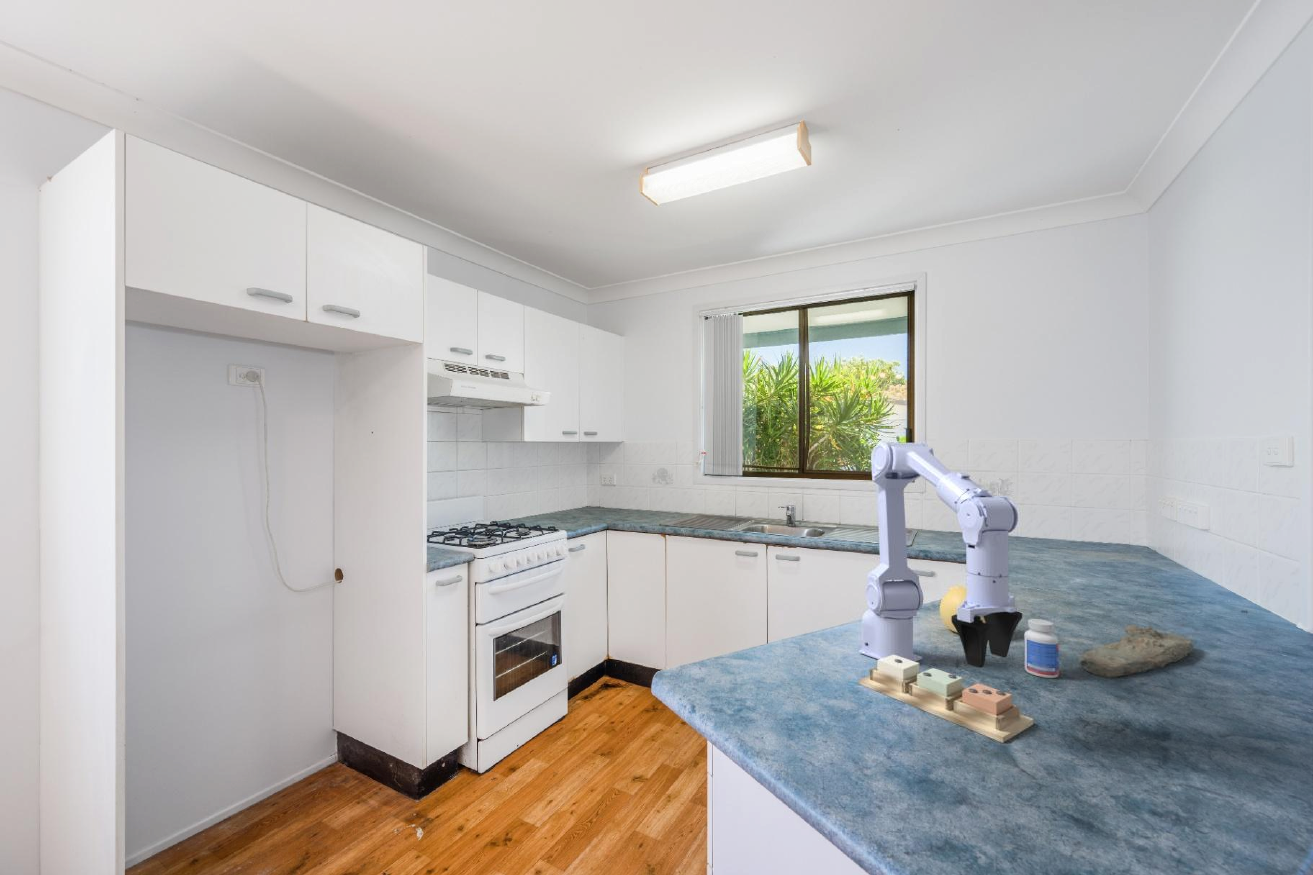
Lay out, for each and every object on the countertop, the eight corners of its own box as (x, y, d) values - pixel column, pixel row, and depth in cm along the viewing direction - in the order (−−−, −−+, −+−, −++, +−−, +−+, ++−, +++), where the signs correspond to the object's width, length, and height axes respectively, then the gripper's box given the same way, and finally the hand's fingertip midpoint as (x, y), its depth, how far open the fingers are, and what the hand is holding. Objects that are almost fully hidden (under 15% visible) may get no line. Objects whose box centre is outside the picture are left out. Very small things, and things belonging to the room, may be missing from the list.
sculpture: (1007, 635, 128) (1007, 588, 128) (978, 643, 121) (978, 594, 122) (958, 621, 137) (958, 578, 138) (929, 629, 131) (929, 583, 132)
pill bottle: (1064, 680, 102) (1064, 627, 103) (1032, 677, 103) (1032, 625, 104) (1050, 668, 108) (1049, 618, 108) (1019, 666, 109) (1019, 616, 109)
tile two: (917, 688, 93) (917, 672, 93) (933, 681, 96) (933, 666, 96) (946, 699, 89) (946, 683, 89) (962, 692, 92) (962, 676, 92)
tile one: (877, 673, 99) (877, 658, 100) (893, 667, 102) (893, 653, 102) (903, 683, 95) (903, 668, 95) (919, 676, 98) (919, 662, 98)
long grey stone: (1062, 672, 110) (1123, 695, 101) (1063, 646, 110) (1124, 667, 101) (1148, 637, 126) (1207, 655, 117) (1149, 615, 125) (1208, 630, 117)
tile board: (859, 683, 100) (859, 669, 100) (891, 671, 105) (891, 657, 105) (1002, 742, 80) (1002, 724, 80) (1033, 724, 86) (1033, 707, 86)
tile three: (962, 705, 87) (962, 689, 87) (978, 697, 90) (978, 681, 90) (996, 718, 83) (996, 701, 83) (1011, 710, 86) (1011, 693, 86)
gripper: (992, 584, 80) (992, 679, 79) (1035, 572, 88) (1036, 658, 87) (943, 574, 85) (943, 663, 85) (988, 564, 94) (988, 645, 93)
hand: (987, 660), depth 87 cm, fingers open, 7 cm apart
